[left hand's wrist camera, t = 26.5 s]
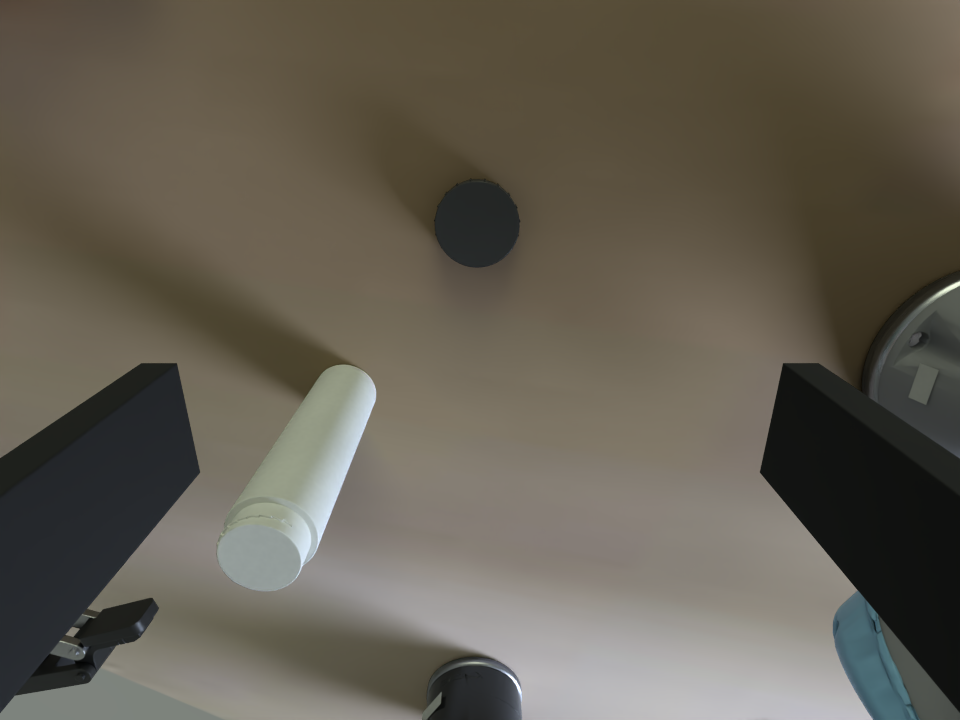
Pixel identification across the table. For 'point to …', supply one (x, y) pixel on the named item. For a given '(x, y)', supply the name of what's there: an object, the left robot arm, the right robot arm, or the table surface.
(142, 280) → the table surface
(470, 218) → the lid
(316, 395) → the bottle
